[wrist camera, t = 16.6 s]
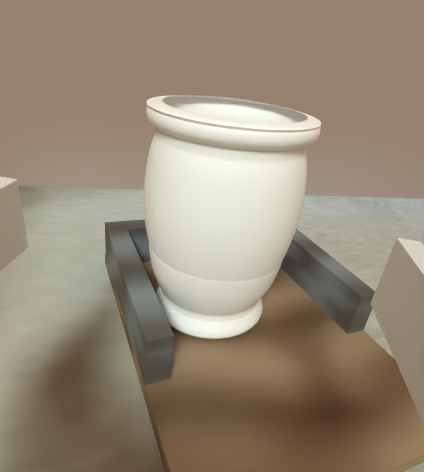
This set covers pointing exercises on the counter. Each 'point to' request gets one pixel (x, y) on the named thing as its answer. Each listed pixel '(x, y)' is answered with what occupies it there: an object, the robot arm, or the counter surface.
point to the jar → (222, 206)
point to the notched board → (268, 373)
